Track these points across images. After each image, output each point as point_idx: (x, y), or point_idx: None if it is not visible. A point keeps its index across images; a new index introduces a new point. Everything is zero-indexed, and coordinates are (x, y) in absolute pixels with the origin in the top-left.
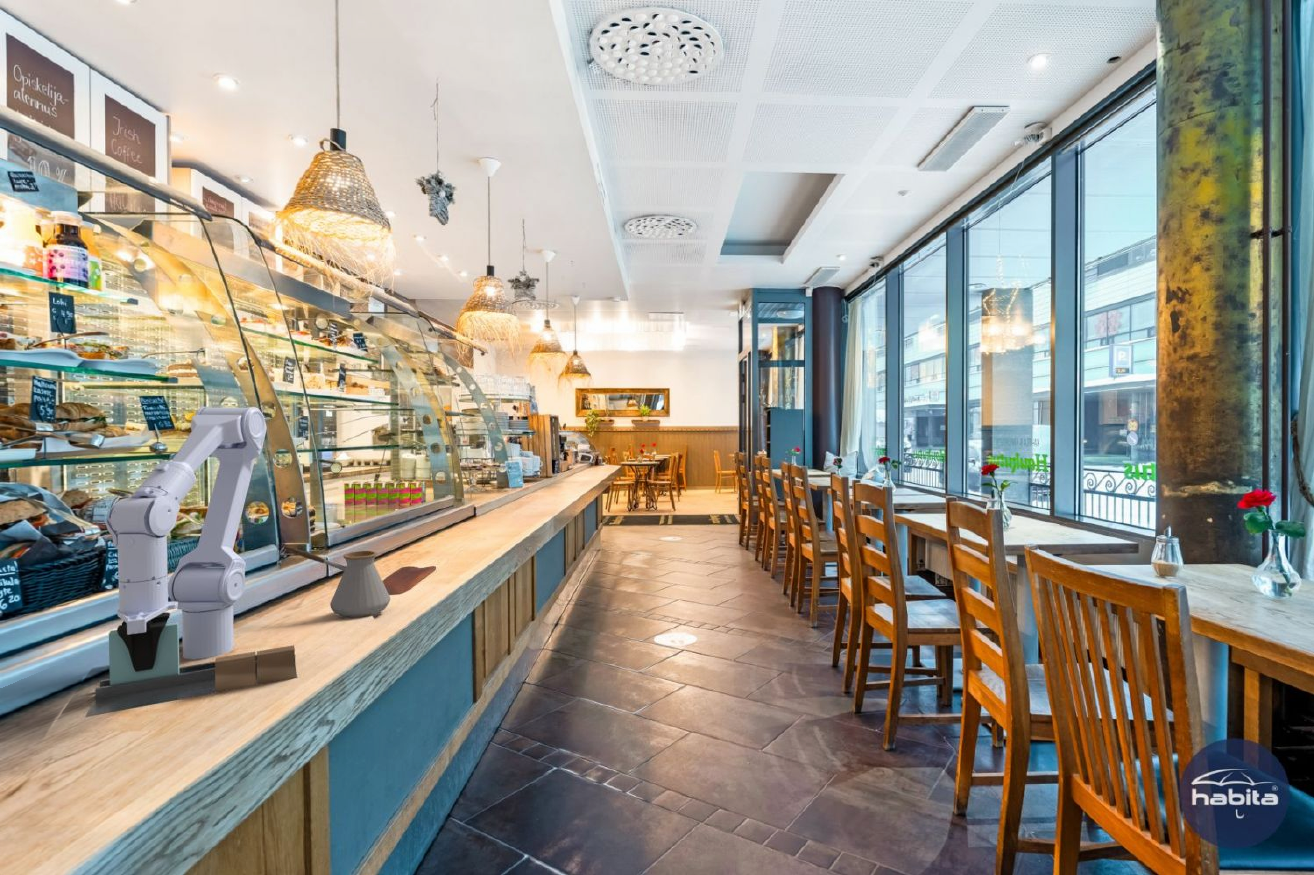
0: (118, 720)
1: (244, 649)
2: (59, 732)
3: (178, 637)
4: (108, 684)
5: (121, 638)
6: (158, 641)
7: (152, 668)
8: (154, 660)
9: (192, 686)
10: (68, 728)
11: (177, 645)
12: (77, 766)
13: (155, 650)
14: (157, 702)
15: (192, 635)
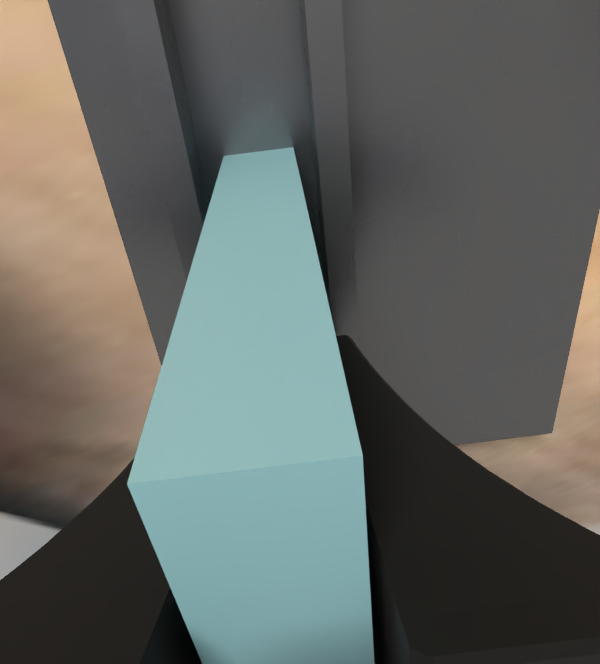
0: (584, 314)
1: None
2: (559, 458)
3: (204, 299)
4: None
5: None
6: (397, 457)
7: (347, 336)
8: (363, 360)
9: (420, 25)
10: (539, 446)
11: (313, 254)
12: None
13: (409, 410)
14: (591, 190)
15: None
